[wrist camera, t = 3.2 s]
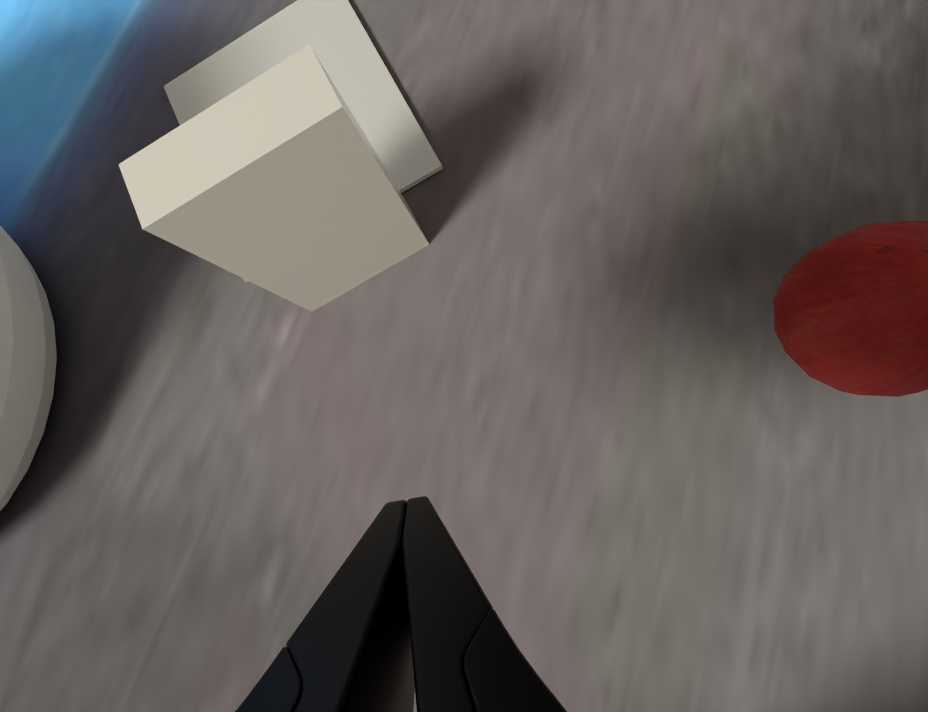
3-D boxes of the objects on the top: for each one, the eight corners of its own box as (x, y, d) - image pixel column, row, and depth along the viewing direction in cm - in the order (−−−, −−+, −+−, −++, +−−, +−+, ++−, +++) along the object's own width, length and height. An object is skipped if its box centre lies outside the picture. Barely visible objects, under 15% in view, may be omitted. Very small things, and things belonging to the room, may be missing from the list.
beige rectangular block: (429, 244, 22) (342, 106, 13) (311, 311, 23) (142, 229, 13) (406, 202, 23) (307, 40, 13) (292, 269, 24) (116, 160, 14)
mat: (443, 168, 23) (441, 165, 23) (248, 282, 24) (244, 280, 24) (337, -19, 26) (334, -24, 26) (167, 89, 27) (163, 86, 27)
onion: (851, 247, 19) (1066, 124, 11) (921, 373, 18) (1214, 334, 10) (716, 295, 20) (830, 210, 12) (774, 419, 19) (943, 416, 11)
